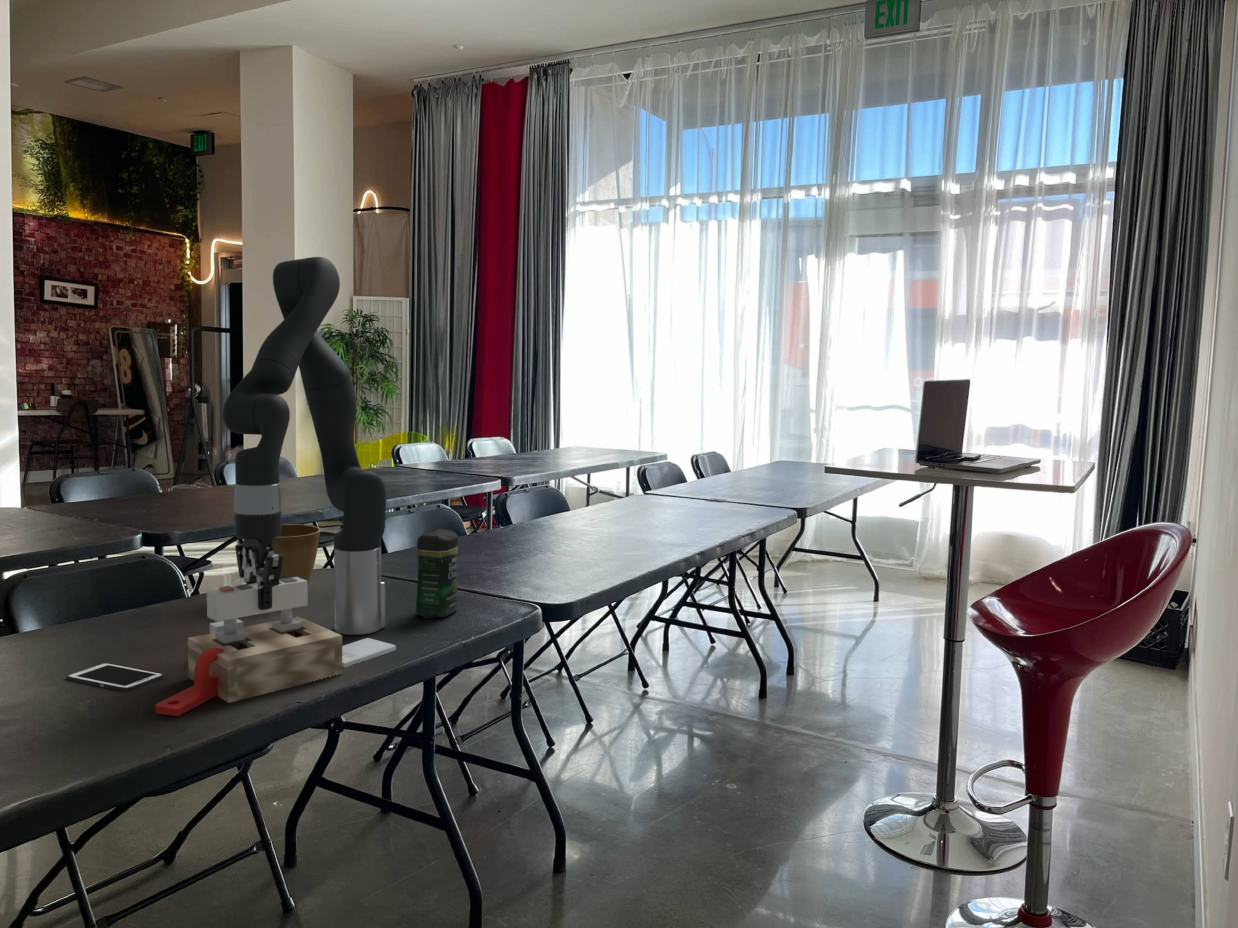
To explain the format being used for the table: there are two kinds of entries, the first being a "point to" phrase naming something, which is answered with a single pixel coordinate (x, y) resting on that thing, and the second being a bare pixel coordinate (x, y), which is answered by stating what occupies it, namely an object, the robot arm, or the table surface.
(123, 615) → the table surface
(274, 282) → the robot arm
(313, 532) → the plant pot
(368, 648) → the external hard drive
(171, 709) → the bracket
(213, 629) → the block
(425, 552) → the coffee jar
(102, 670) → the cell phone
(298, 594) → the power strip
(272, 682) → the wooden block with holes
